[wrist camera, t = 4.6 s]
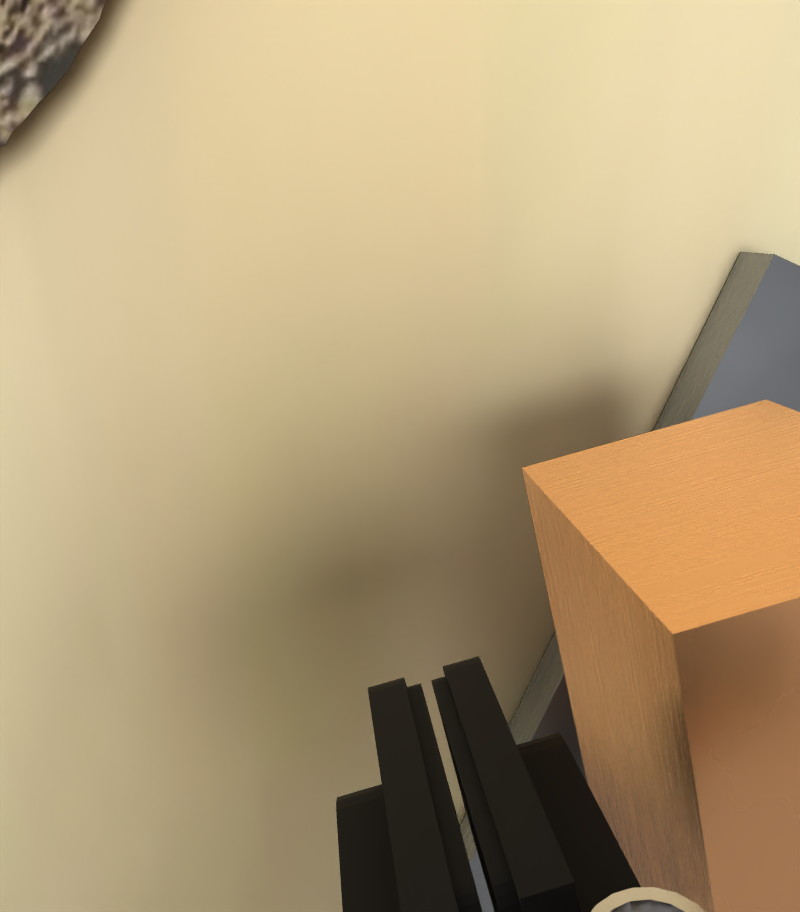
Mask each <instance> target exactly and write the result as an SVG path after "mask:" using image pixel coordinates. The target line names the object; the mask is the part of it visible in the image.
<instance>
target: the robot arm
mask: <svg viewBox="0 0 800 912" xmlns="http://www.w3.org/2000/svg"><path fill="white" fill-rule="evenodd" d="M443 670H444V675H445V677H442V678H438V679H435V680H431V681H432V685H433V689H434V693H435V696H436V700H437V704H438V708H439V711H440V715H441V719H442V723H443V726H444V730H445V734H446V738H447V741H448V745H449V749H450V753H451V757H452V760H453V764H454V768H455V772H456V775H457V779H458V783H459V787H460V790H461V794H462V798H463V802H464V805H465V809H466V813H467V817H468V820H469V824H470V828H471V832H472V835H473V839H474V842H475V846H476V850H477V853H478V857H479V860H480V864H481V867H482V871H483V874H484V878H485V881H486V884H487V888H488V891H489V895H490V898H491V902H492V905H493V909H494V912H705V911H704V910H703V909H702V908H701V907H700V906H699V905H698V904H697V903H695V902H693V901H691V900H689V899H687V898H685V897H684V896H682V895H680V894H678V893H676V892H672V891H668V890H664V889H660V888H656V887H641V886H640V884H639V882H638V880H637V878H636V876H635V874H634V872H633V870H632V868H631V867H630V865H629V863H628V861H627V859H626V857H625V855H624V853H623V851H622V849H621V847H620V845H619V843H618V842H617V840H616V838H615V836H614V834H613V832H612V830H611V828H610V826H609V824H608V822H607V820H606V819H605V817H604V815H603V813H602V811H601V809H600V807H599V805H598V803H597V801H596V799H595V797H594V796H593V794H592V792H591V790H590V788H589V786H588V784H587V782H586V780H585V778H584V776H583V774H582V773H581V771H580V769H579V767H578V765H577V763H576V761H575V759H574V757H573V755H572V753H571V751H570V749H569V748H568V746H567V744H566V742H565V740H564V739H563V737H562V735H561V734H559V733H556V734H552V735H549V736H545V737H542V738H539V739H535V740H532V741H528V742H525V743H522V744H518V745H516V743H515V741H514V738H513V736H512V734H511V731H510V729H509V726H508V724H507V722H506V719H505V717H504V715H503V712H502V710H501V707H500V705H499V703H498V700H497V698H496V696H495V693H494V691H493V689H492V686H491V684H490V681H489V679H488V677H487V674H486V672H485V670H484V667H483V665H482V663H481V660H480V658H479V657H474V658H471V659H467V660H464V661H460V662H457V663H453V664H450V665H446V666H443ZM368 693H369V700H370V707H371V713H372V720H373V727H374V734H375V740H376V747H377V754H378V760H379V767H380V774H381V781H382V784H381V785H378V786H374V787H371V788H368V789H364V790H361V791H357V792H354V793H350V794H347V795H344V796H340V797H337V801H336V812H337V828H338V844H339V859H340V875H341V891H342V907H343V912H483V911H482V908H481V904H480V900H479V896H478V893H477V889H476V885H475V882H474V878H473V874H472V870H471V867H470V863H469V859H468V856H467V852H466V848H465V844H464V841H463V837H462V833H461V830H460V826H459V822H458V819H457V815H456V811H455V807H454V804H453V800H452V796H451V793H450V789H449V785H448V782H447V778H446V774H445V771H444V767H443V763H442V760H441V756H440V752H439V748H438V745H437V741H436V737H435V734H434V730H433V726H432V723H431V719H430V715H429V712H428V708H427V704H426V701H425V697H424V693H423V690H422V686H421V684H417V685H414V686H410V687H407V686H406V682H405V679H404V678H401V679H397V680H394V681H390V682H387V683H383V684H380V685H376V686H373V687H369V688H368Z"/></svg>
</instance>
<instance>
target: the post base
mask: <svg viewBox="0 0 800 912" xmlns="http://www.w3.org/2000/svg"><path fill="white" fill-rule="evenodd" d="M762 400H769V401H772V402H774V403H777V404H780V405H782V406H785V407H787V408H790V409H793V410H795V411H798V412H800V266H798V265H796V264H794V263H792V262H790V261H788V260H785V259H783V258H781V257H779V256H777V255H775V254H762V253H746V252H740V254H739V256H738V258H737V261H736V263H735V265H734V267H733V269H732V271H731V273H730V275H729V277H728V279H727V281H726V283H725V285H724V287H723V289H722V291H721V293H720V295H719V297H718V299H717V301H716V303H715V306H714V308H713V310H712V312H711V314H710V316H709V318H708V320H707V322H706V324H705V326H704V328H703V330H702V332H701V334H700V336H699V338H698V340H697V342H696V344H695V346H694V348H693V351H692V353H691V355H690V357H689V359H688V361H687V363H686V365H685V367H684V369H683V371H682V373H681V375H680V377H679V379H678V381H677V383H676V385H675V387H674V389H673V391H672V393H671V395H670V398H669V400H668V402H667V404H666V406H665V408H664V410H663V412H662V414H661V416H660V418H659V420H658V422H657V424H656V426H655V428H654V430H653V431H655V430H659V429H662V428H666V427H669V426H673V425H676V424H680V423H684V422H687V421H691V420H694V419H698V418H702V417H705V416H709V415H712V414H716V413H719V412H723V411H727V410H730V409H734V408H737V407H741V406H745V405H748V404H752V403H755V402H759V401H762ZM509 729H510V731H511V734H512V736H513V738H514V741H515V743H516V745H518V744H522V743H525V742H528V741H532V740H535V739H539V738H542V737H545V736H549V735H552V734H556V733H559V734H561V735H562V737H563V739H564V740H565V742H566V744H567V746H568V748H569V749H570V751H571V753H572V755H573V757H574V759H575V761H576V763H577V765H578V767H579V769H580V771H581V773H582V774H583V776H584V778H585V780H586V775H585V770H584V765H583V761H582V756H581V751H580V746H579V741H578V736H577V732H576V727H575V722H574V717H573V712H572V708H571V703H570V698H569V693H568V688H567V683H566V679H565V674H564V669H563V664H562V659H561V655H560V650H559V645H558V640H557V635H556V631H555V633H554V635H553V637H552V639H551V641H550V643H549V645H548V647H547V649H546V651H545V653H544V655H543V657H542V659H541V661H540V663H539V665H538V667H537V669H536V672H535V674H534V676H533V678H532V680H531V682H530V684H529V686H528V688H527V690H526V692H525V694H524V696H523V698H522V700H521V702H520V704H519V706H518V708H517V710H516V712H515V714H514V717H513V719H512V721H511V723H510V725H509ZM586 782H587V780H586ZM460 830H461V833H462V837H463V841H464V844H465V848H466V852H467V856H468V859H469V863H470V867H471V870H472V874H473V878H474V882H475V885H476V889H477V893H478V896H479V900H480V904H481V908H482V911H483V912H494V909H493V905H492V902H491V898H490V895H489V891H488V888H487V884H486V881H485V878H484V874H483V871H482V867H481V864H480V860H479V857H478V853H477V850H476V846H475V842H474V839H473V835H472V832H471V828H470V824H469V820H468V817H467V813H466V815H465V817H464V819H463V821H462V823H461V825H460Z"/></svg>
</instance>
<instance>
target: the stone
mask: <svg viewBox="0 0 800 912" xmlns="http://www.w3.org/2000/svg"><path fill="white" fill-rule="evenodd" d="M106 1H107V0H0V147H1V146H3V145H5V144H6V142H7V140H8V139H9V137H10V135H11V133H12V132H13V131H14V130H15V129H16V128H17V127H18V126H19V125H20V124H21V123H22V122H23V121H24V120H25V118H26V117H27V116H28V115H29V114H30V112H31V111H32V110H33V109H34V108H35V106H36V105H37V104H38V103H39V102H40V101H41V100H42V99H43V98H44V97H45V96H46V95H47V94H48V93H49V92H50V91H51V90H52V89H53V87H54V86H55V85H56V84H57V83H58V82H59V80H60V79H61V78H62V77H63V76H64V75H65V73H66V72H67V71H68V70H69V68H70V66H71V64H72V62H73V60H74V58H75V57H76V55H77V53H78V51H79V50H80V48H81V46H82V44H83V43H84V41H85V40H86V38H87V37H88V35H89V34H90V33H91V31H92V30H93V28H94V27H95V25H96V24H97V22H98V21H99V19H100V15H101V11H102V9H103V7H104V5H105V3H106Z"/></svg>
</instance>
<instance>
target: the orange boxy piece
mask: <svg viewBox="0 0 800 912" xmlns="http://www.w3.org/2000/svg"><path fill="white" fill-rule="evenodd" d="M522 471H523V476H524V481H525V486H526V491H527V495H528V500H529V505H530V510H531V515H532V519H533V524H534V529H535V534H536V539H537V544H538V548H539V553H540V558H541V563H542V568H543V573H544V577H545V582H546V587H547V592H548V597H549V601H550V606H551V611H552V616H553V621H554V626H555V630H556V635H557V640H558V645H559V650H560V655H561V659H562V664H563V669H564V674H565V679H566V683H567V688H568V693H569V698H570V703H571V708H572V712H573V717H574V722H575V727H576V732H577V736H578V741H579V746H580V751H581V756H582V761H583V765H584V770H585V775H586V780H587V784H588V786H589V788H590V790H591V792H592V794H593V796H594V797H595V799H596V801H597V803H598V805H599V807H600V809H601V811H602V813H603V815H604V817H605V819H606V820H607V822H608V824H609V826H610V828H611V830H612V832H613V834H614V836H615V838H616V840H617V842H618V843H619V845H620V847H621V849H622V851H623V853H624V855H625V857H626V859H627V861H628V863H629V865H630V867H631V868H632V870H633V872H634V874H635V876H636V878H637V880H638V882H639V884H640V886H641V887H656V888H660V889H664V890H668V891H672V892H676V893H678V894H680V895H682V896H684V897H685V898H687V899H689V900H691V901H693V902H695V903H697V904H698V905H699V906H700V907H701V908H702V909H703V910H704V911H705V912H800V412H798V411H795V410H793V409H790V408H787V407H785V406H782V405H780V404H777V403H774V402H772V401H769V400H762V401H759V402H755V403H752V404H748V405H745V406H741V407H737V408H734V409H730V410H727V411H723V412H719V413H716V414H712V415H709V416H705V417H702V418H698V419H694V420H691V421H687V422H684V423H680V424H676V425H673V426H669V427H666V428H662V429H659V430H655V431H651V432H648V433H644V434H641V435H637V436H633V437H630V438H626V439H623V440H619V441H616V442H612V443H608V444H605V445H601V446H598V447H594V448H590V449H587V450H583V451H580V452H576V453H573V454H569V455H565V456H562V457H558V458H555V459H551V460H548V461H544V462H540V463H537V464H533V465H530V466H526V467H522Z"/></svg>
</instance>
